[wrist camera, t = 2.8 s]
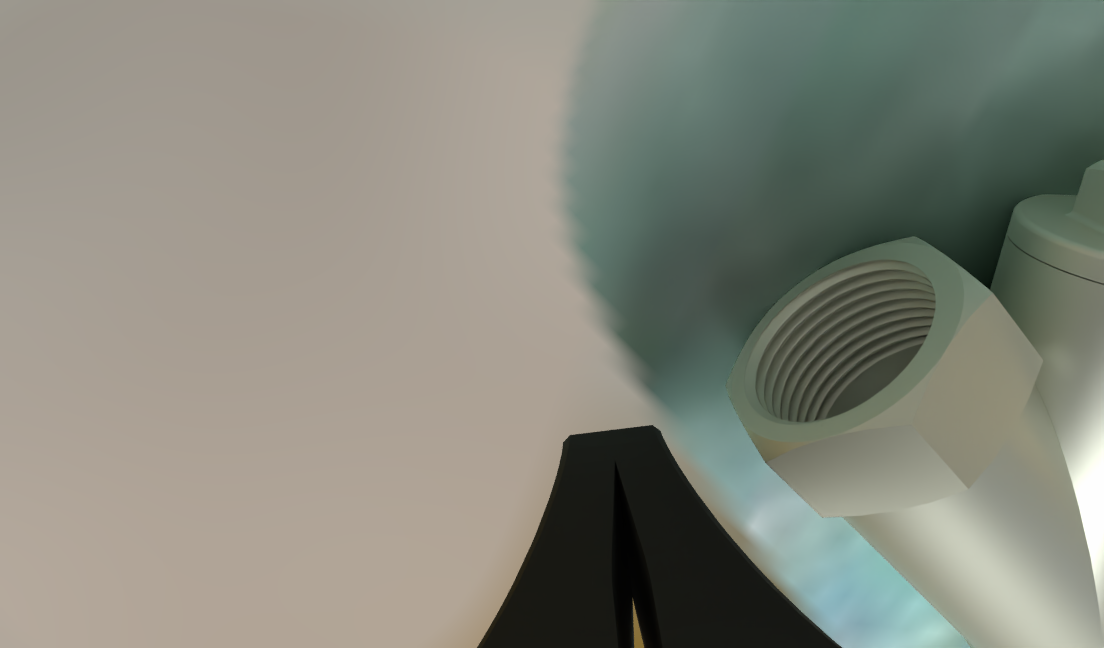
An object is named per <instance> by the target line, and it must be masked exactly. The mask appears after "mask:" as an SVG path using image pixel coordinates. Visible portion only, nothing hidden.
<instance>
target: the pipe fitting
mask: <svg viewBox="0 0 1104 648" xmlns="http://www.w3.org/2000/svg"><path fill="white" fill-rule="evenodd" d="M725 386H726V389H727V392H728V395H729V398H730V400H731V402H732V404H733V406H734V409H735V411H736V413H737V415H738V417H739V419H740V420H741V422H742V424H743V426H744V428H745V429H746V431H747V433H748V435H749V436H750V438H751V440H752V441H753V443H754V445H755V446H756V448H757V450H758V451H759V453H760V454H761V456H762V458H763V459H764V461H765V463H766V464H767V465H768V466H770V467H771V468H772V469H773V470H774V471H775V472H776V473H777V474H778V475H779V476H780V477H781V478H782V479H783V480H784V481H785V482H786V483H787V484H788V485H789V486H790V487H791V488H792V489H793V490H794V491H795V492H796V493H797V494H798V495H799V496H800V497H801V498H802V499H803V500H804V501H805V502H807V503H808V504H809V505H810V506H811V507H812V508H813V509H814V510H815V511H816V512H817V513H818V514H819V515H820V516H821V517H822V518H824V517H843V518H844V519H845V520H846V521H847V522H848V523H849V524H850V525H851V526H852V527H853V528H854V529H855V530H856V531H857V532H858V533H859V534H860V535H861V536H862V537H863V538H864V539H865V540H866V541H867V542H868V543H869V544H870V545H871V546H872V547H873V548H874V549H875V550H876V551H877V552H878V553H879V554H880V555H881V556H882V557H883V558H884V559H885V560H886V561H887V562H888V563H889V564H890V565H891V566H892V567H893V568H894V569H895V570H896V571H897V572H898V573H899V574H901V575H902V576H903V577H904V578H905V579H906V580H907V581H908V582H909V583H910V584H911V585H912V586H913V587H914V588H915V589H916V590H917V591H918V592H919V593H920V594H921V595H922V596H923V597H924V598H925V599H926V600H927V601H928V602H929V603H930V604H931V605H932V606H933V607H934V608H935V609H936V610H937V611H938V612H939V613H940V614H941V615H942V616H943V617H944V618H945V619H946V620H947V621H948V622H949V623H950V624H951V625H952V626H953V627H954V628H955V629H956V630H957V631H958V632H959V633H960V634H961V635H962V636H963V637H964V638H965V640H966V641H967V643H968V644H969V646H970V647H971V648H1104V159H1103V160H1101V161H1098V162H1096V163H1094V164H1093V165H1091V166H1090V167H1088V168H1086V170H1085V173H1084V176H1083V179H1082V182H1081V185H1080V188H1079V191H1078V195H1057V194H1043V195H1037V196H1033V197H1030V198H1027V199H1024V200H1023V201H1021V202H1019V203H1018V204H1017V205H1016V206H1015V208H1014V210H1013V213H1012V216H1011V220H1010V223H1009V227H1008V230H1007V233H1006V237H1005V240H1004V244H1003V247H1002V250H1001V254H1000V257H999V261H998V264H997V267H996V271H995V274H994V278H993V281H992V284H991V288H990V290H989V289H988V288H987V287H985V286H984V285H983V284H982V283H981V282H979V281H978V280H977V279H976V278H974V277H973V276H972V275H971V274H970V273H968V272H967V271H966V270H965V269H963V268H962V267H961V266H959V265H958V264H957V263H955V262H954V261H953V260H951V259H950V258H949V257H947V256H946V255H945V254H943V253H942V252H940V251H939V250H937V249H936V248H934V247H933V246H931V245H930V244H928V243H926V242H925V241H923V240H921V239H919V238H917V237H915V236H913V237H908V238H903V239H899V240H894V241H890V242H886V243H882V244H878V245H875V246H872V247H869V248H866V249H863V250H860V251H857V252H854V253H852V254H849V255H847V256H844V257H842V258H840V259H838V260H836V261H834V262H832V263H830V264H828V265H826V266H824V267H822V268H821V269H819V270H817V271H816V272H814V273H813V274H811V275H810V276H808V277H807V278H805V279H804V280H803V281H801V282H800V283H799V284H797V285H796V286H795V287H793V288H792V289H791V290H790V291H789V292H787V293H786V294H785V295H784V296H783V297H782V298H781V299H780V300H779V301H778V302H777V303H776V304H775V305H774V306H773V307H772V308H771V309H770V310H769V311H768V312H767V314H766V315H765V316H764V317H763V318H762V319H761V321H760V322H759V323H758V325H757V326H756V327H755V329H754V330H753V332H752V333H751V335H750V337H749V338H748V340H747V341H746V343H745V345H744V347H743V349H742V350H741V352H740V354H739V356H738V358H737V360H736V362H735V364H734V366H733V369H732V371H731V373H730V376H729V378H728V381H727V383H726V385H725Z"/></svg>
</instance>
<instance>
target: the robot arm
mask: <svg viewBox="0 0 1104 648" xmlns="http://www.w3.org/2000/svg"><path fill="white" fill-rule="evenodd" d="M632 597H633V598H632ZM633 601H634V605H635V610H636V614H637V618H638V623H639V627H640V631H641V635H642V639H643V644H644V648H842V647H841V646H839V645H838V644H837V643H836V642H834V641H833V640H832V639H831V638H830V637H829V636H827V635H826V634H825V633H824V632H823V631H822V630H821V629H820V628H819V627H818V626H816V625H815V624H814V623H813V622H812V621H811V620H810V619H809V618H808V617H807V616H805V615H804V614H803V613H802V612H801V611H800V610H799V609H798V608H797V607H796V606H795V605H794V604H793V603H792V602H791V601H790V600H789V599H788V598H787V597H786V596H785V595H784V594H783V593H781V592H780V591H779V590H778V589H777V588H776V587H775V586H774V585H773V583H772V582H771V581H770V580H769V579H768V578H767V577H766V576H765V575H764V574H763V573H762V572H761V571H760V570H759V569H758V568H757V566H756V565H755V564H754V563H753V562H752V561H751V560H750V559H749V558H748V556H747V555H746V554H745V553H744V552H743V551H742V550H741V548H740V547H739V546H738V545H737V544H736V543H735V541H733V539H732V538H731V537H730V536H729V534H728V533H727V532H726V531H725V529H724V528H723V527H722V526H721V525H720V523H719V522H718V521H717V519H716V518H715V517H714V515H713V514H712V513H711V511H710V510H709V509H708V507H707V506H706V505H705V503H704V502H703V501H702V499H701V498H700V497H699V495H698V494H697V493H696V491H695V490H694V488H693V487H692V485H691V484H690V483H689V481H688V480H687V478H686V476H685V475H684V473H683V472H682V470H681V469H680V468H679V466H678V464H677V462H676V461H675V459H674V457H673V456H672V454H671V452H670V450H669V448H668V447H667V445H666V443H665V441H664V439H663V436H662V434H661V431H660V430H658V429H657V428H656V427H654V426H653V425H649V426H641V427H634V428H625V429H617V430H609V431H601V432H593V433H584V434H576V435H570V436H569V437H568V438H567V439H566V440H565V441H564V442H563V449H562V456H561V460H560V465H559V468H558V472H557V476H556V479H555V482H554V486H553V489H552V492H551V495H550V498H549V501H548V504H547V507H546V509H545V512H544V514H543V517H542V519H541V522H540V525H539V527H538V530H537V533H536V535H535V537H534V540H533V542H532V545H531V547H530V549H529V551H528V553H527V555H526V557H525V560H524V562H523V564H522V566H521V568H520V570H519V572H518V575H517V577H516V579H515V581H514V583H513V585H512V587H511V589H510V591H509V593H508V595H507V597H506V599H505V600H504V602H503V604H502V606H501V608H500V610H499V611H498V613H497V615H496V617H495V619H494V620H493V622H492V624H491V626H490V627H489V629H488V631H487V632H486V634H485V636H484V638H483V639H482V641H481V642H480V644H479V646H478V647H477V648H634V628H633Z"/></svg>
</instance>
